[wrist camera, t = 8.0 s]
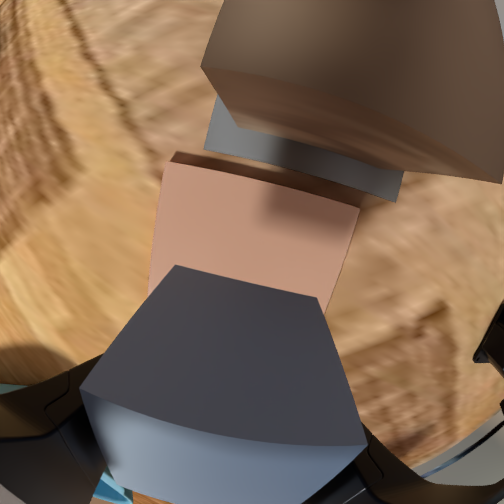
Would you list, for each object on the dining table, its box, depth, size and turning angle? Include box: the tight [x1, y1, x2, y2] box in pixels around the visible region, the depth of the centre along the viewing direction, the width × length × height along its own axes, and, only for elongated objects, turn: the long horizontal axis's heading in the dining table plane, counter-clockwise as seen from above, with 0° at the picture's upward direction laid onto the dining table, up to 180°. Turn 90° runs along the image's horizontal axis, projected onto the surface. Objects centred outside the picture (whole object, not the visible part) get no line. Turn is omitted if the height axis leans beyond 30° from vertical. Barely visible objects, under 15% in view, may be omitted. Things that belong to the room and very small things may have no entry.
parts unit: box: [200, 0, 504, 203], centre depth 8 cm, size 11×13×10 cm
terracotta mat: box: [147, 161, 360, 314], centre depth 16 cm, size 11×11×1 cm
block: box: [79, 264, 368, 504], centre depth 7 cm, size 5×5×6 cm
